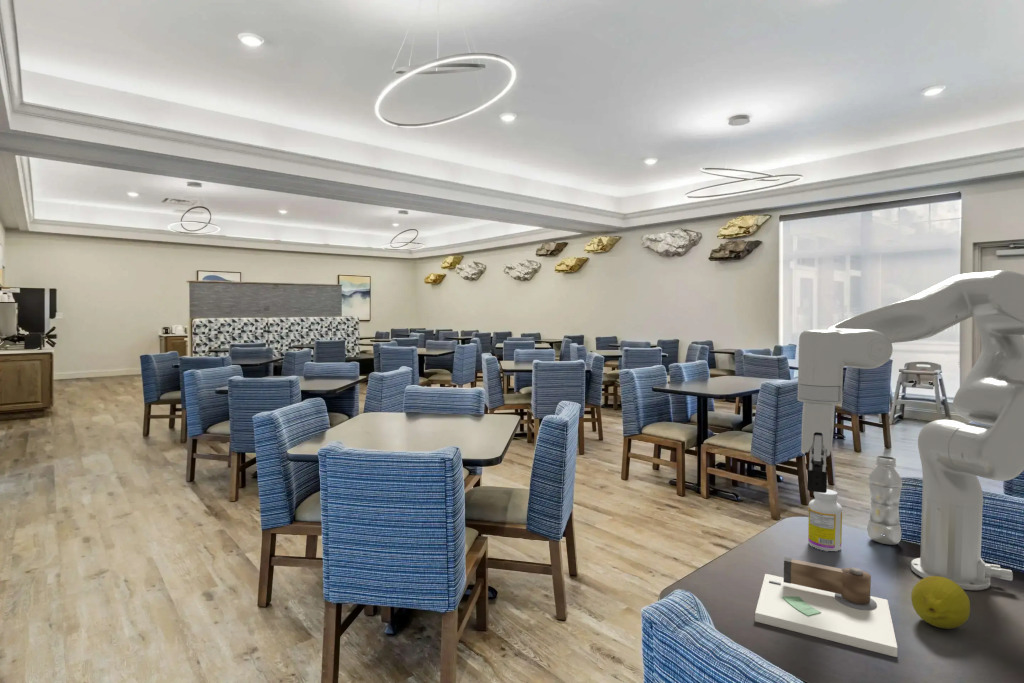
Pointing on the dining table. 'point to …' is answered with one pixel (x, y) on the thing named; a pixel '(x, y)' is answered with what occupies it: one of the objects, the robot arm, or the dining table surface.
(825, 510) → the supplement bottle
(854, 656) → the dining table surface
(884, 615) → the dial plate
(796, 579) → the walnut dial lever
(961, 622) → the lemon
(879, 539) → the plastic bottle
